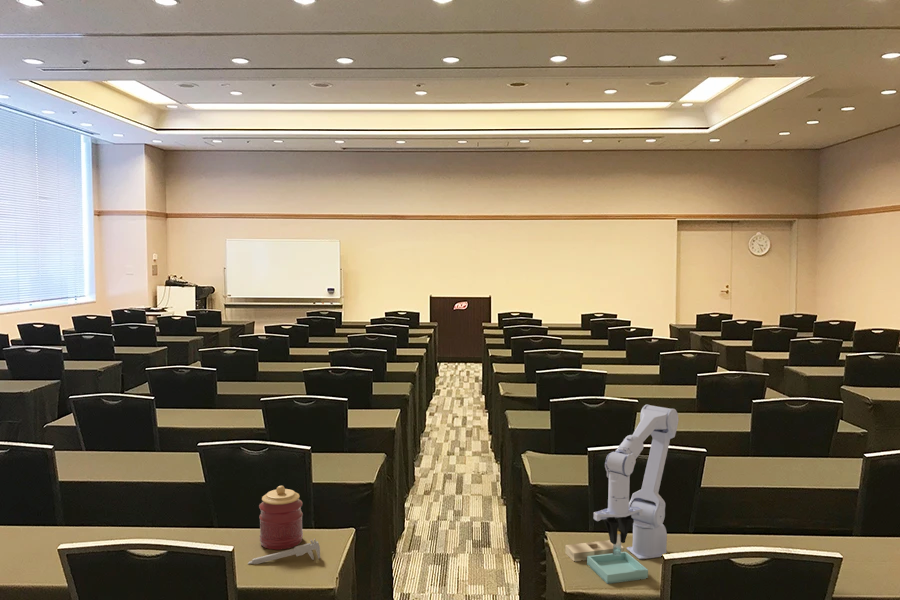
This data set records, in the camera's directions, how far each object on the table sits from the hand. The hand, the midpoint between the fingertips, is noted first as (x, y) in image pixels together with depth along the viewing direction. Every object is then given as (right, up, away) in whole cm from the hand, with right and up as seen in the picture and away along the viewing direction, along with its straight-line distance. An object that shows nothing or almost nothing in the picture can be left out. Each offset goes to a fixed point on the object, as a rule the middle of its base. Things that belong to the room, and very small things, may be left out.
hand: (617, 542), depth 210 cm
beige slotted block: (-4, -8, +12) cm, 15 cm away
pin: (0, -4, 0) cm, 4 cm away
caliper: (-95, -8, +6) cm, 96 cm away
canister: (-99, -7, +20) cm, 101 cm away
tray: (0, -9, +1) cm, 8 cm away
